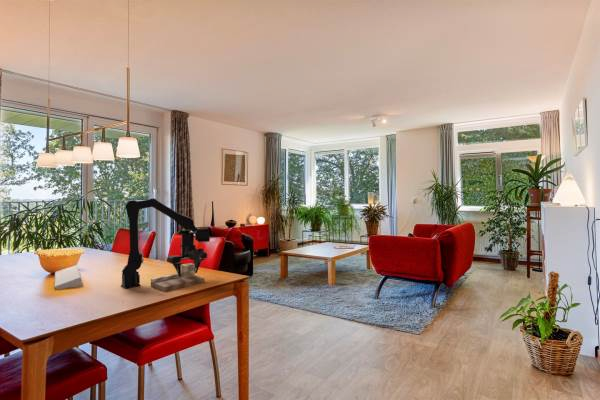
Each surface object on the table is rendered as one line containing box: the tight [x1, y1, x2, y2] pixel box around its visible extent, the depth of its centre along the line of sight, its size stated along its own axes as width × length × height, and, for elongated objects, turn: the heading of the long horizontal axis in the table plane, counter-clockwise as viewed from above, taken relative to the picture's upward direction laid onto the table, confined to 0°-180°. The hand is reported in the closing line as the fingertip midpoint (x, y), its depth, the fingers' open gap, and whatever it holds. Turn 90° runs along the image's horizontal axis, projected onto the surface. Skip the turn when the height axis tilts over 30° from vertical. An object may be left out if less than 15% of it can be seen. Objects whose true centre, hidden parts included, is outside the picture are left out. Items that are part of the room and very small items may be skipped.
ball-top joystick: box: [181, 262, 198, 278], centre depth 162 cm, size 5×9×6 cm, turn 49°
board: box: [150, 273, 205, 293], centre depth 158 cm, size 20×13×4 cm, turn 139°
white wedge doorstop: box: [54, 264, 84, 290], centre depth 167 cm, size 34×5×10 cm
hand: (188, 274), depth 164 cm, fingers open, 8 cm apart
